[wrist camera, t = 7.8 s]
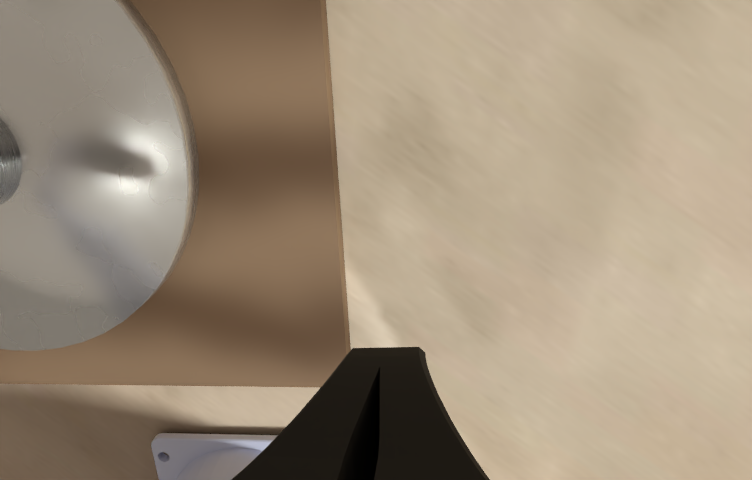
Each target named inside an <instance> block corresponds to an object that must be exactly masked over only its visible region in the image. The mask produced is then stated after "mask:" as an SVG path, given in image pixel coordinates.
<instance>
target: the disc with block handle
mask: <svg viewBox="0 0 752 480" xmlns="http://www.w3.org/2000/svg"><path fill="white" fill-rule="evenodd" d="M199 184H200V182H199V154H198V148H197V141H196V135H195V128H194V124H193V120H192V117H191V113H190V110H189V106H188V103H187V99H186V96H185V94H184V91H183V89H182V86H181V84H180V81H179V79H178V77H177V74H176V72H175V69H174V67H173V65H172V63H171V61H170V59H169V58H168V56H167V54H166V52H165V50H164V49H163V47H162V45H161V43H160V41H159V40H158V38H157V36H156V35H155V33H154V32H153V30H152V29H151V28H150V26H149V25H148V23H147V22H146V21H145V19H144V18H143V16H142V15H141V13H140V12H139V11H138V9H137V8H136V7H135V6H134V5H133V3H132V2H131V1H130V0H0V349H6V350H27V351H38V350H46V349H55V348H62V347H66V346H70V345H73V344H77V343H81V342H84V341H87V340H89V339H91V338H94V337H96V336H99V335H101V334H103V333H105V332H107V331H108V330H110V329H112V328H113V327H115V326H117V325H118V324H120V323H122V322H123V321H124V320H126V319H127V318H128V317H129V316H130V315H131V314H133V313H134V312H135V311H136V310H137V309H139V308H140V307H141V306H142V305H143V304H144V303H145V302H146V301H147V300H148V299H149V298H150V297H152V296H153V295H154V294H155V293H156V291H157V290H158V289H159V288H160V287H161V286H162V284H163V283H164V282H165V281H166V280H167V279H168V277H169V276H170V274H171V273H172V271H173V270H174V268H175V266H176V265H177V263H178V261H179V260H180V258H181V256H182V254H183V252H184V249H185V247H186V244H187V242H188V240H189V237H190V235H191V231H192V227H193V223H194V219H195V215H196V211H197V203H198V194H199Z"/></svg>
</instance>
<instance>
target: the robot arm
mask: <svg viewBox="0 0 752 480" xmlns="http://www.w3.org/2000/svg"><path fill="white" fill-rule="evenodd" d="M151 448H152V453H153V457H154V461H155V466H156V470H157V474H158V478H159V480H490V479H489V478H488V477H487V475H486V474H485V473H484V471H483V470H482V468H481V467H480V465H479V464H478V462H477V461H476V460H475V458H474V457H473V455H472V454H471V452H470V450H469V449H468V447H467V446H466V444H465V442H464V441H463V439H462V438H461V436H460V434H459V433H458V431H457V429H456V428H455V426H454V424H453V422H452V421H451V419H450V417H449V415H448V413H447V411H446V409H445V407H444V405H443V403H442V401H441V399H440V397H439V395H438V393H437V391H436V388H435V386H434V383H433V381H432V379H431V376H430V373H429V370H428V367H427V363H426V358H425V352H424V351H423V350H422V349H420V348H419V347H398V348H353V349H352V350H351V351H350V352H349V353H348V354H347V355H346V356H345V358H344V359H343V360H342V361H341V363H340V364H339V365H338V367H337V368H336V369H335V371H334V372H333V373H332V374H331V376H330V377H329V378H328V379H327V381H326V382H325V383H324V384H323V386H322V387H321V388H320V389H319V391H318V392H317V393H316V394H315V395H314V396H313V398H312V399H311V400H310V401H309V402H308V403H307V405H306V406H305V407H304V408H303V409H302V410H301V411H300V413H299V414H298V415H297V416H296V417H295V418H294V419H293V420H292V422H291V423H290V424H289V425H288V426H287V427H286V428H285V429H284V430H283V431H282V432H281V433H280V434H279V435H235V434H186V433H160V434H158V435H156V436H155V438H154V439H153V441H152V443H151ZM163 452H164V453H167V454H168V455H165V454H164V453H163Z"/></svg>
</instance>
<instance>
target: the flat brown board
mask: <svg viewBox="0 0 752 480" xmlns="http://www.w3.org/2000/svg"><path fill="white" fill-rule="evenodd" d="M130 1H131V2H132V3H133V5H134V6H135V7H136V8H137V9H138V11H139V12H140V13H141V15H142V16H143V18H144V19H145V21H146V22H147V23H148V25H149V26H150V28H151V29H152V30H153V32H154V33H155V35H156V36H157V38H158V40H159V41H160V43H161V45H162V47H163V49H164V50H165V52H166V54H167V56H168V58H169V59H170V61H171V63H172V65H173V67H174V69H175V72H176V74H177V77H178V79H179V81H180V84H181V86H182V89H183V91H184V94H185V96H186V99H187V103H188V106H189V110H190V113H191V117H192V120H193V124H194V128H195V135H196V141H197V148H198V154H199V182H200V184H199V194H198V203H197V211H196V215H195V219H194V223H193V227H192V231H191V235H190V237H189V240H188V242H187V244H186V247H185V249H184V252H183V254H182V256H181V258H180V260H179V261H178V263H177V265H176V266H175V268H174V270H173V271H172V273H171V274H170V276H169V277H168V279H167V280H166V281H165V282H164V283H163V284H162V286H161V287H160V288H159V289H158V290H157V291H156V293H155V294H154V295H153V296H152V297H150V298H149V299H148V300H147V301H146V302H145V303H144V304H143V305H142V306H141V307H140V308H139V309H137V310H136V311H135V312H134V313H133V314H131V315H130V316H129V317H128V318H127V319H126V320H124V321H123V322H122V323H120V324H118V325H117V326H115V327H113V328H112V329H110V330H108V331H107V332H105V333H103V334H101V335H99V336H96V337H94V338H91V339H89V340H87V341H84V342H81V343H77V344H73V345H70V346H66V347H62V348H55V349H46V350H38V351H27V350H6V349H0V383H4V384H90V385H176V386H261V387H322V386H323V384H324V383H325V382H326V381H327V379H328V378H329V377H330V376H331V374H332V373H333V372H334V371H335V369H336V368H337V367H338V365H339V364H340V363H341V361H342V360H343V359H344V358H345V356H346V355H347V354H348V353H349V352H350V351H351V349H350V335H349V321H348V307H347V293H346V279H345V265H344V251H343V237H342V223H341V209H340V195H339V180H338V166H337V152H336V138H335V124H334V110H333V96H332V82H331V68H330V54H329V40H328V26H327V12H326V0H130Z"/></svg>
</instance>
